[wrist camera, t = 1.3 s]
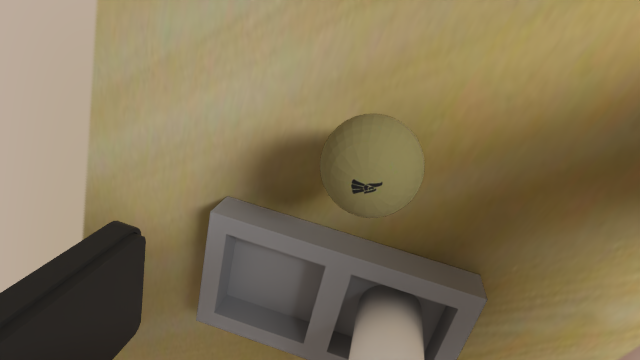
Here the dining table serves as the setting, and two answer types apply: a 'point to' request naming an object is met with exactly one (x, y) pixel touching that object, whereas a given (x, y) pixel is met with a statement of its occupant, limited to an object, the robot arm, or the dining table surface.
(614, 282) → the dining table surface
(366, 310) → the white cylinder
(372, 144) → the light bulb
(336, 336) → the socket board
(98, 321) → the robot arm
